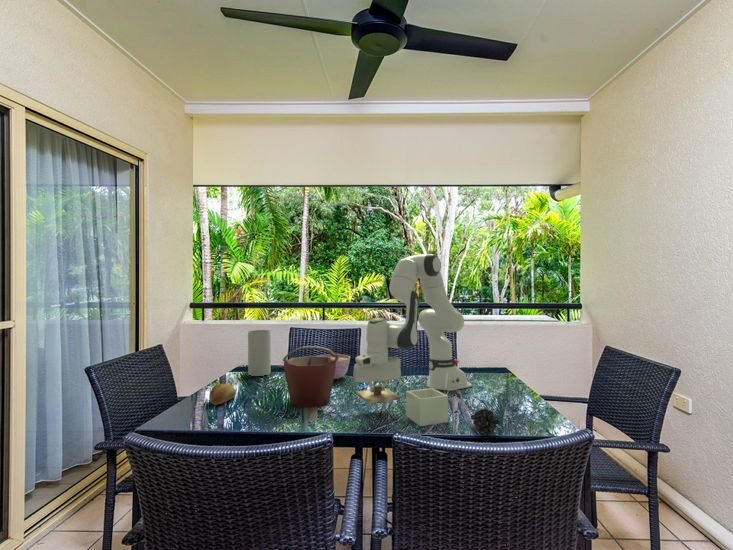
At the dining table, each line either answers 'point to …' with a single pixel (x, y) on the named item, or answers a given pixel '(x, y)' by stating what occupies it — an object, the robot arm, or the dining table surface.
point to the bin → (427, 406)
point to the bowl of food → (340, 364)
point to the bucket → (310, 378)
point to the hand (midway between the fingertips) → (377, 391)
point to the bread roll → (222, 393)
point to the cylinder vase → (259, 353)
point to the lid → (377, 395)
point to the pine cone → (485, 421)
